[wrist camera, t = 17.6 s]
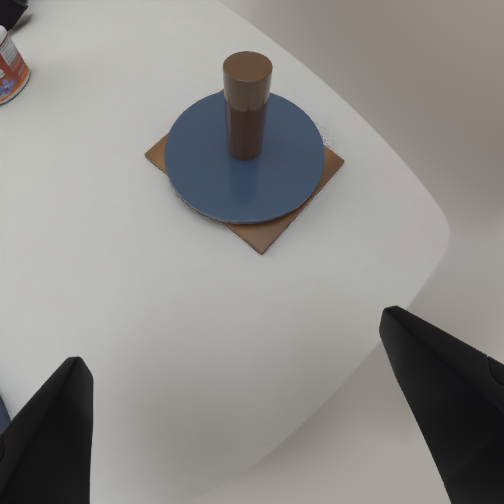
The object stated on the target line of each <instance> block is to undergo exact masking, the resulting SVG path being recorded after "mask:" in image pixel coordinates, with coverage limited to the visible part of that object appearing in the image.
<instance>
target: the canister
mask: <svg viewBox="0 0 504 504" xmlns="http://www.w3.org/2000/svg"><path fill="white" fill-rule="evenodd" d="M9 424H10V419H9V416H8V413H7V411H6V408H5V406H4V404H3V402H2V400H1V398H0V434H1V433H3V431H4V430H5V428H6V427H7V426H8V425H9Z"/></svg>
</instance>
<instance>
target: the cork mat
mask: <svg viewBox="0 0 504 504" xmlns="http://www.w3.org/2000/svg"><path fill="white" fill-rule="evenodd" d="M223 91H224V89H223V90H222V91H220V92H223ZM168 134H169V133H168ZM168 134H167V135H166V136H164V137H163V138H162V139H161V140H160V141H159V142H158V143H156V144H155V145H154V146H153V147H152V148H151V149H150V150H149V151H147V152H146V153H145V156H146V158H147V159H149V160H150V161H151V162H152V163H153V164H155V165H156V166H157V167H158V168H159V169H160V170H162V171H163V172H164V173H165V174H166V175H167V172H166V168H165V162H164V148H165V144H166V139H167V137H168ZM323 146H324V153H325V161H324V168H323V172H322V176H321V178H320V180H319V182H318V185H317V186H316V188H315V190H314V191H313V193H312V194H311V195H310V196H309V198H308V199H307V200H306V201H305V202H304V203H303V204H301V205H300V206H299V207H298V208H296V209H295V210H293V211H292V212H290V213H288V214H286V215H284V216H282V217H280V218H277V219H274V220H271V221H268V222H262V223H257V224H233V223H227V222H223V223H224V224H226V225H227V226H228V227H229V228H230V229H231V230H233V231H234V232H235V233H236V234H237V235H239V236H240V237H241V238H242V239H243V240H244V241H246V242H247V243H248V244H249V245H250V246H251V247H253V248H254V249H255V250H256V251H257V252H259V253H260V254H261V255H262V254H263V253H264V252H265V251H266V250H267V249H268V248H269V247H270V245H271V244H272V243H273V242H274V241H275V240H276V239H277V238H278V237H279V235H280V234H281V233H282V232H283V231H284V230H285V229H286V228H287V226H288V225H289V224H290V223H291V222H292V221H293V220H294V219H295V217H296V216H297V215H298V214H299V213H300V212H301V211H302V210H303V208H304V207H305V206H306V205H307V204H308V203H309V202H310V201H311V199H312V198H313V197H314V196H315V195H316V194H317V193H318V192H319V190H320V189H321V188H322V187H323V186H324V185H325V184H326V183H327V181H328V180H329V179H330V178H331V177H332V176H333V175H334V173H335V172H336V171H337V170H338V169H339V168H340V167H341V166H342V164H343V163H344V160H343V159H342V158H340V157H339V156H338V155H336V154H335V153H334V152H332V151H331V150H330V149H329V148H327V147H326V146H325V145H323Z"/></svg>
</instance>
